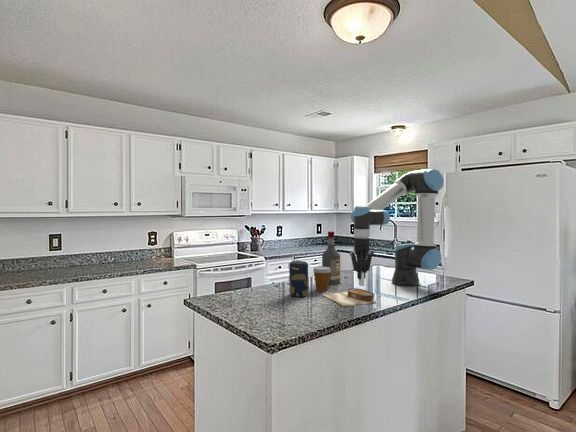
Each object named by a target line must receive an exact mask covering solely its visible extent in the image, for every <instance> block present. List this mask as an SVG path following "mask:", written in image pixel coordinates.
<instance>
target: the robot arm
mask: <svg viewBox="0 0 576 432" xmlns="http://www.w3.org/2000/svg"><path fill="white" fill-rule="evenodd" d="M392 183H393V184H392V185H391V186H390V187H388V188H386V190H384V191H383V192H382V193H379V195H377V196H376V197H375V198H373V199H372V200H371V201H369V202H368V203H367V204H366V205H364V206H363V205H358V206H357V205H356V206H355V207H354V209H353V210H352V212H350V213H351V214H350V219H351V221H352V222H353V237H354V238H353V245H354V247H353V250H352V251H349V253H348V255H349V256H350V259H351V264H352V267H353V271H354V272H356V273H357V277H356V278H357V279H358V286H360V287H365V279H366V274H367V272H369V271H370V269H371V264H372V260H373V255H374V254H375V252H374V251H373V250H370V249H371V248H370V245H371V244H370V243H371V242H370V234H371V232H370V231H371V230H370V228H371V226H384V225H388V224H389V222H390V221H391V214H390V213H389V212H388V210H386V209H385V208H387V207H388V206H389V205H391V204H392V203H394V202H395V201H396V200H397V199H399V198H400V197H401V196H406V195H407V194H410V193H415V194H414V195H415V197H417V219H416V220H417V223H416V225H417V226H416V241H415V242H414V243H402V244H396V245H395V248H394V272H393V276H392V277H391V283H392V284H394V285H397V286H400V287H401V286H403V287H415V286H416V287H417V286H419V285H420V278H419V275H418V272H417V268H418V269H422V270H425V271H433V270H436V269H437V267H438V266H439V265H441V264H440V263H441V261H442V253H441V251H440V250H439V249H438V248H437V244H436V243H435V241H434V239H435V213H436V212H435V209H436V197H437V196H439V191H440V190H442V188H443V187H444V183H445V182H444V176H443V174H442V173H441V171H439V170H438V169H435V168H431V169H430V168H427V169H426V168H425V169H420V170H412V171H409V172H406V173H405V174H403V175H402V176H400V177H399V178H398V179H396V180H395V181H394V182H392Z"/></svg>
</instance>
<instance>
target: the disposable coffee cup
mask: <svg viewBox="0 0 576 432" xmlns="http://www.w3.org/2000/svg"><path fill="white" fill-rule="evenodd" d="M312 271H313V275H314V282H315V291H317V292H327V291H328V290H329V285H330V284H329V276H330V271H331V270H330V267H324V266H322V265H321V266H320V265H319V266H314V267H313V269H312Z"/></svg>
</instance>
